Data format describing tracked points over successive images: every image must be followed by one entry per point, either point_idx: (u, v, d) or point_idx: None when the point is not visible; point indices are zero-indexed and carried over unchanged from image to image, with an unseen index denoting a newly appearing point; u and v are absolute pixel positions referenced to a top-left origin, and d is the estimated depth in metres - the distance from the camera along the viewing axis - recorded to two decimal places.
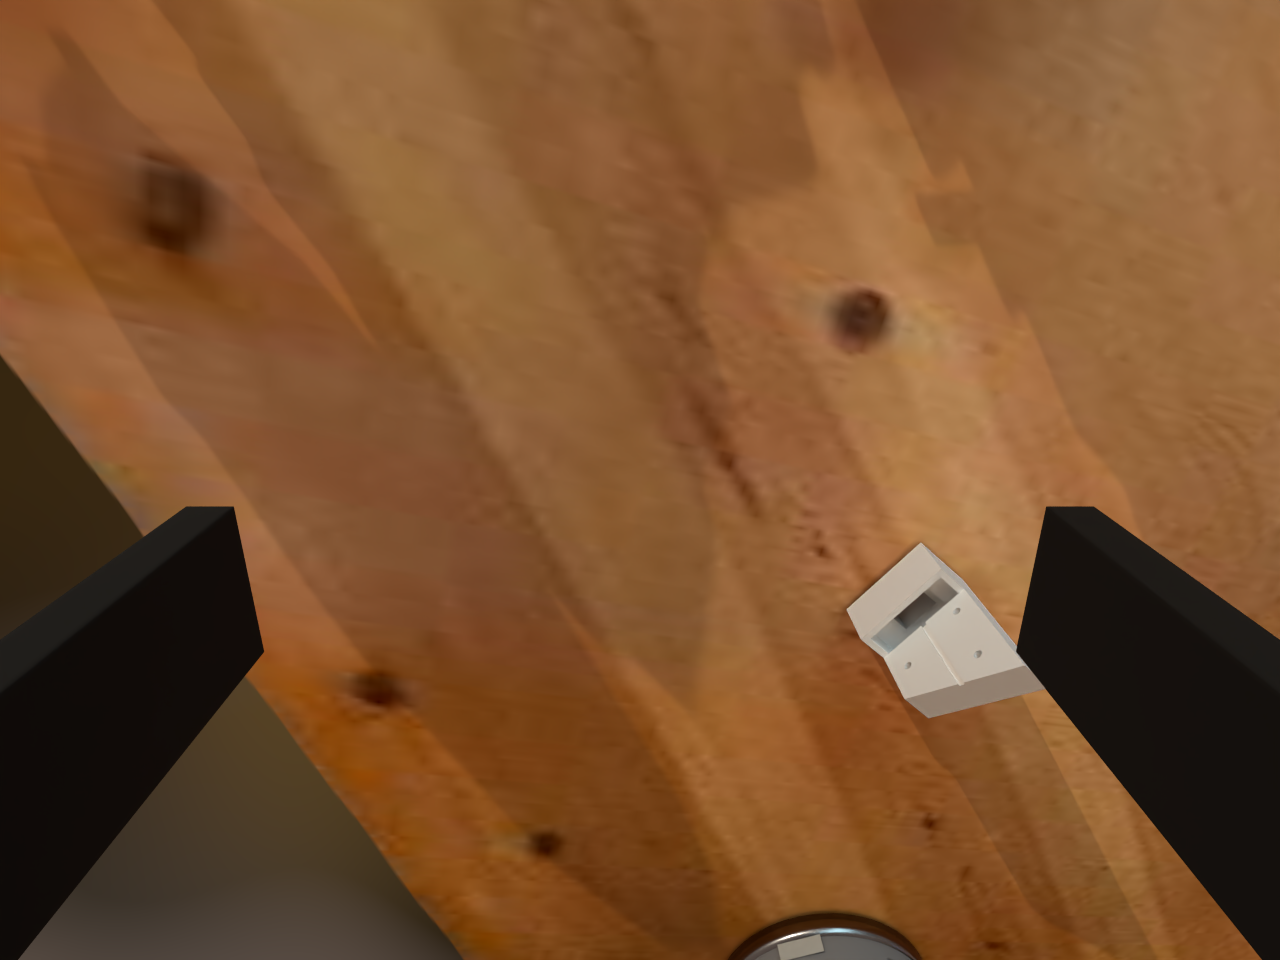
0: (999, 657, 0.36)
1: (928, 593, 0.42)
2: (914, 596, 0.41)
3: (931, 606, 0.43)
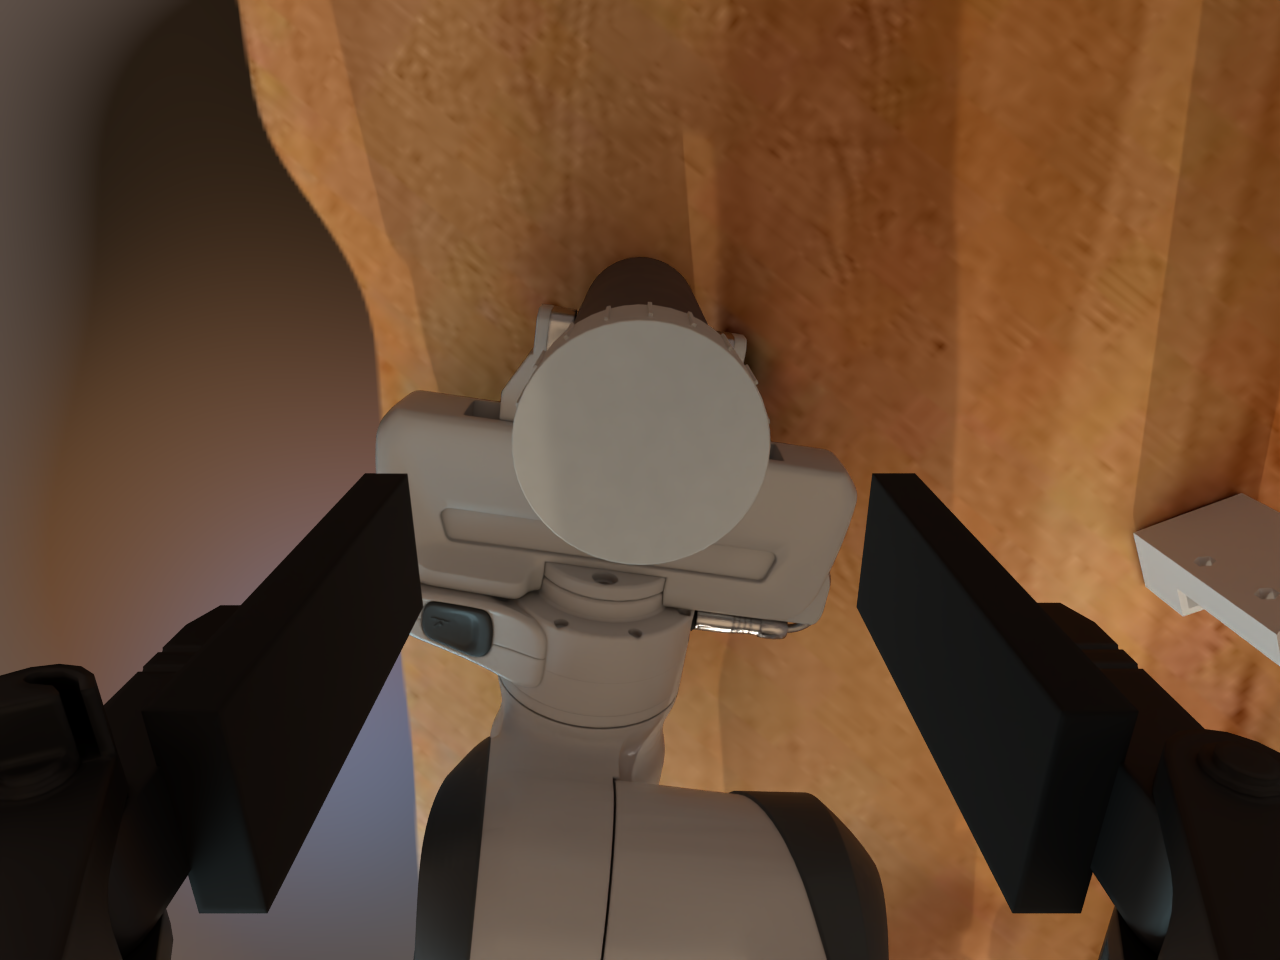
0: None
1: None
2: None
3: None
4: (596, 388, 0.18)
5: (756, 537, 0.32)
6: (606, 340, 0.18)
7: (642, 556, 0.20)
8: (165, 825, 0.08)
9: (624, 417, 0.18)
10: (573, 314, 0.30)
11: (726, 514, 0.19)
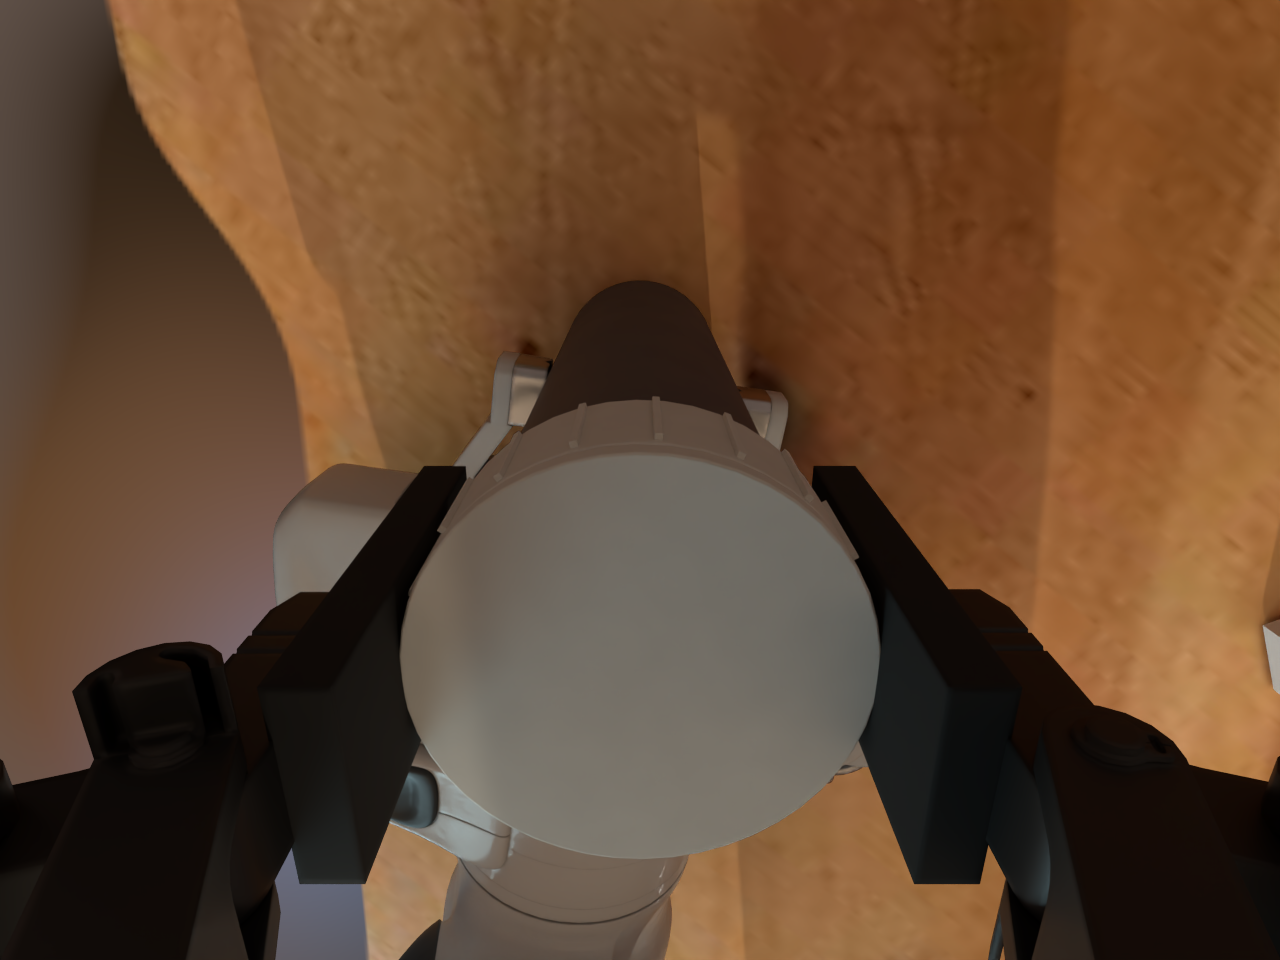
0: None
1: None
2: None
3: None
4: (555, 576, 0.10)
5: None
6: (573, 490, 0.09)
7: (642, 847, 0.11)
8: (276, 797, 0.08)
9: (609, 625, 0.10)
10: (546, 368, 0.22)
11: (794, 783, 0.11)
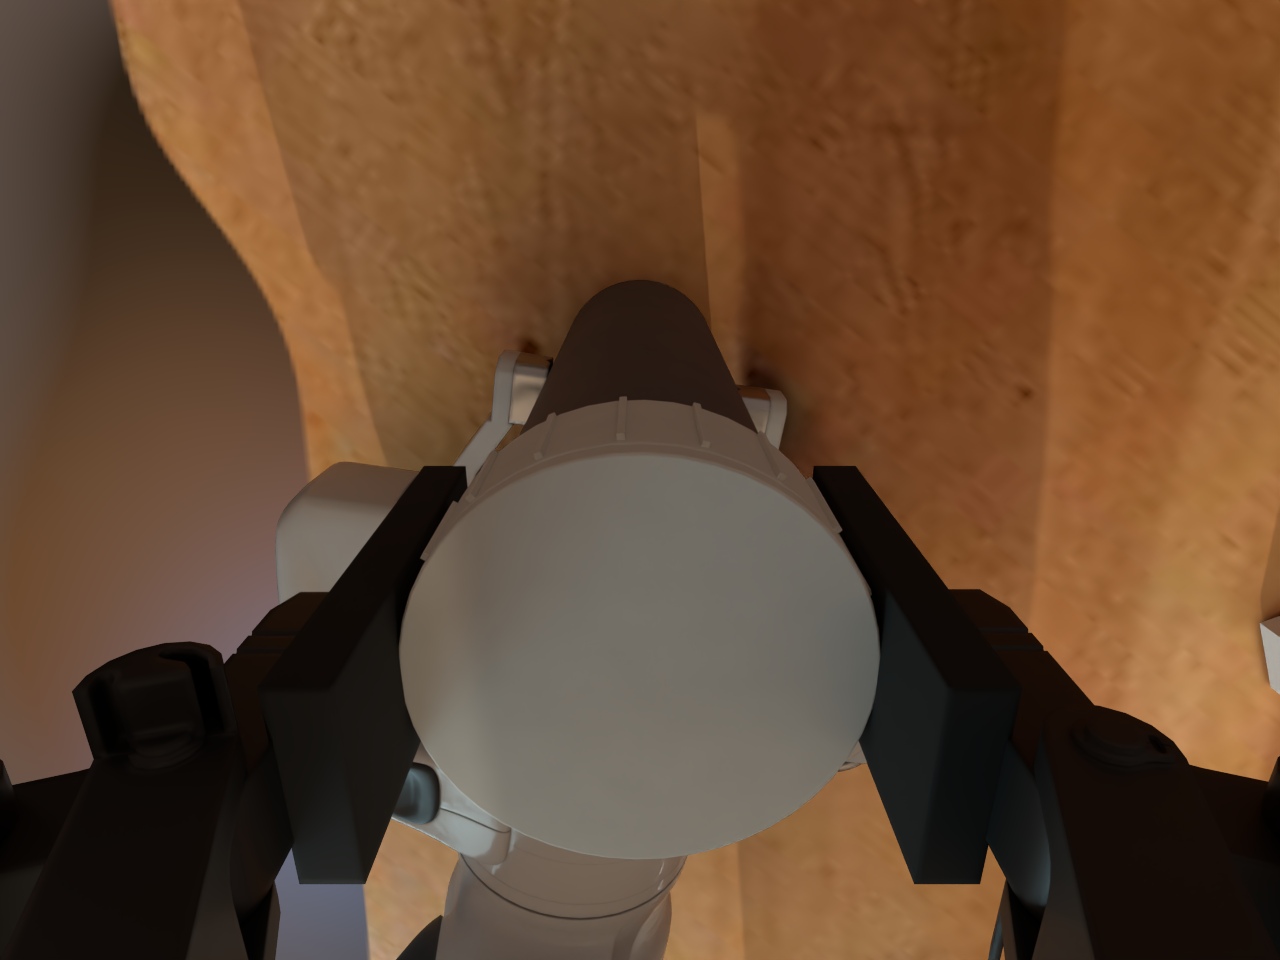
0: None
1: None
2: None
3: None
4: (500, 699, 0.10)
5: None
6: (426, 653, 0.10)
7: (833, 752, 0.11)
8: (275, 797, 0.08)
9: (569, 680, 0.10)
10: (546, 366, 0.22)
11: (836, 598, 0.10)
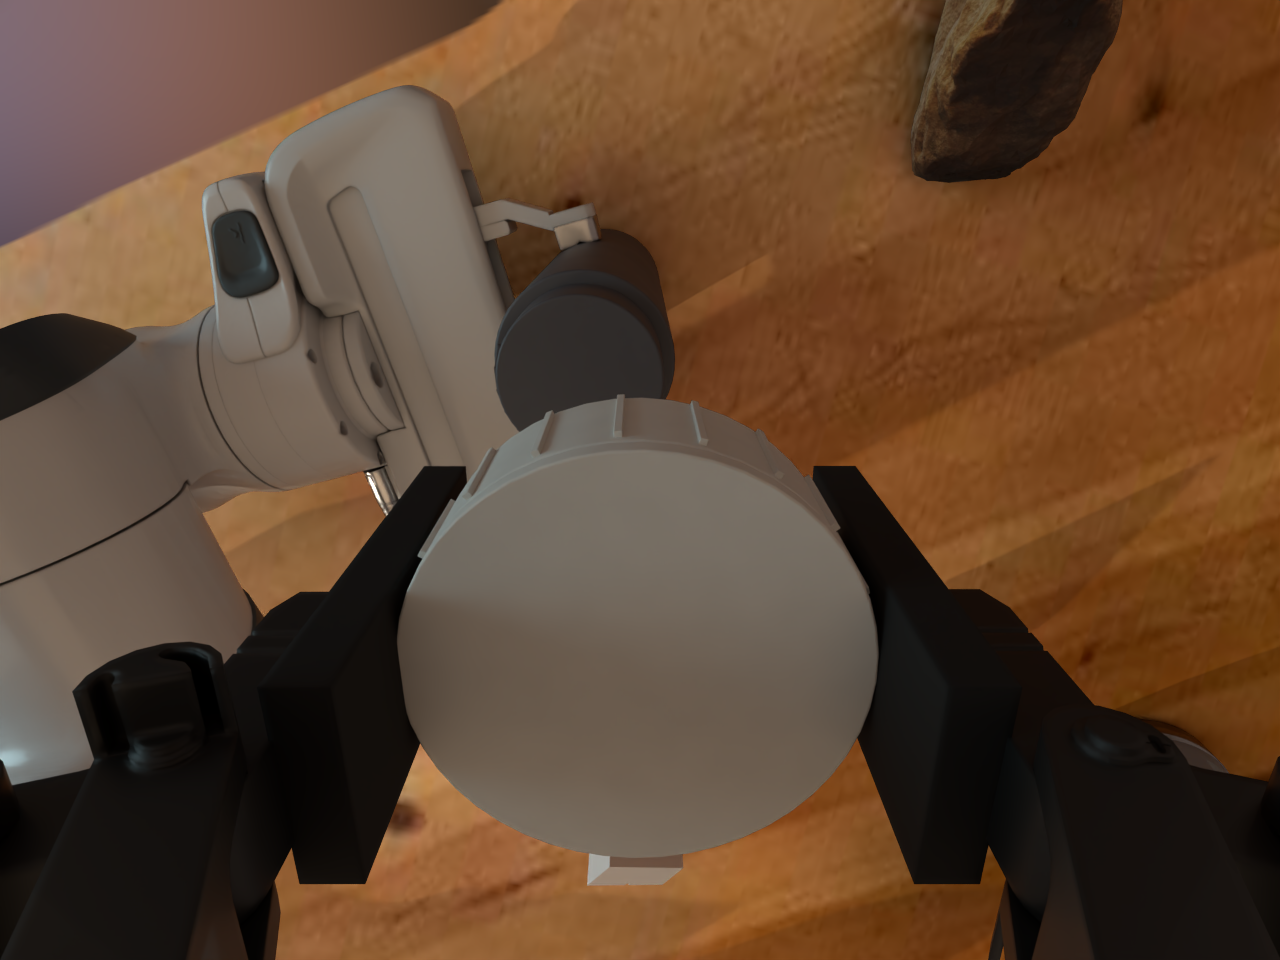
0: None
1: None
2: None
3: None
4: (498, 697, 0.10)
5: None
6: (423, 651, 0.10)
7: (831, 751, 0.11)
8: (276, 797, 0.08)
9: (567, 679, 0.10)
10: (599, 237, 0.32)
11: (834, 596, 0.10)
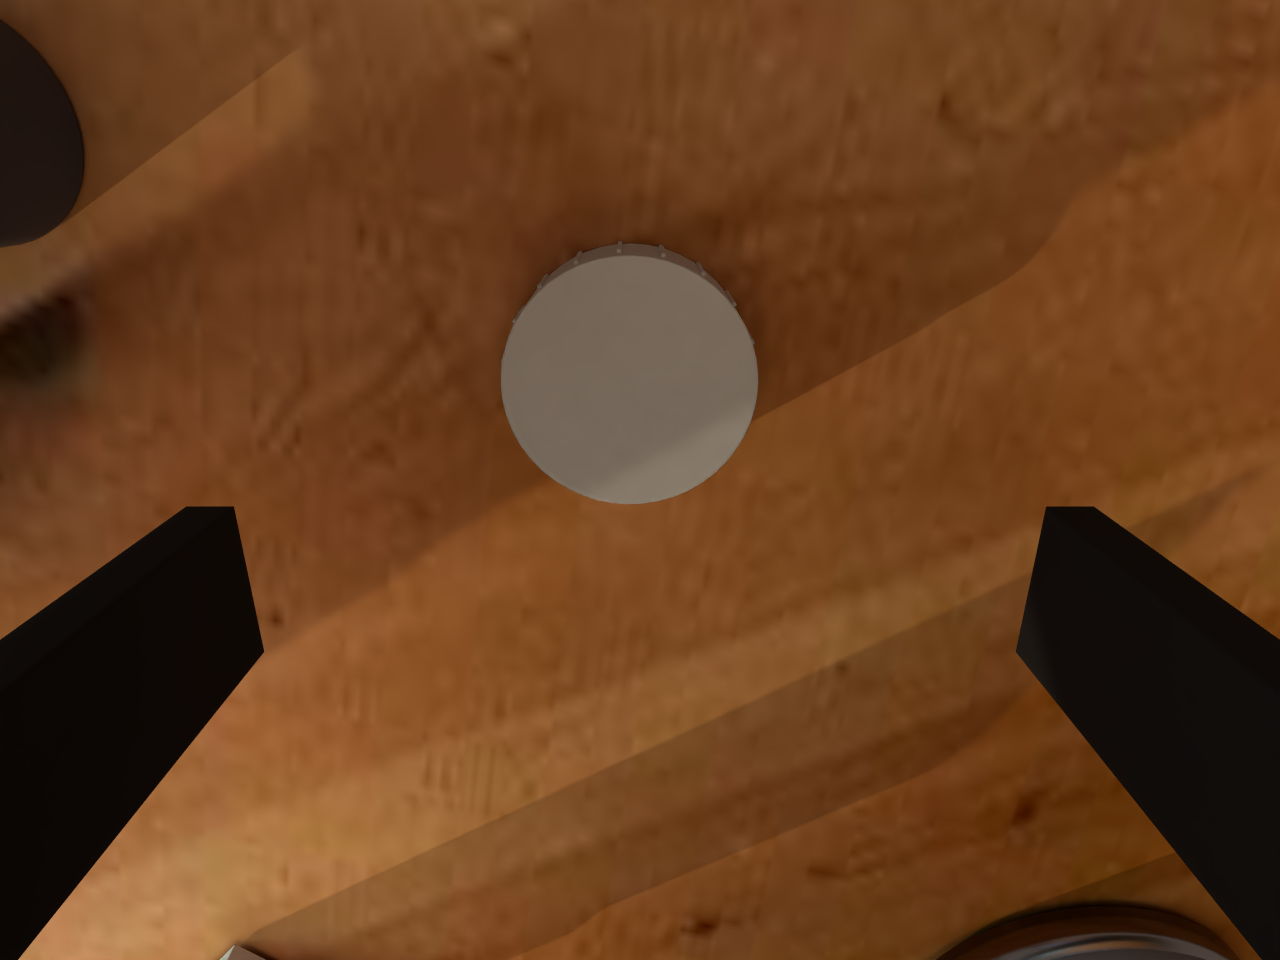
0: None
1: None
2: None
3: None
4: (555, 400, 0.19)
5: None
6: (515, 372, 0.19)
7: (735, 433, 0.19)
8: None
9: (592, 389, 0.19)
10: None
11: (732, 338, 0.18)
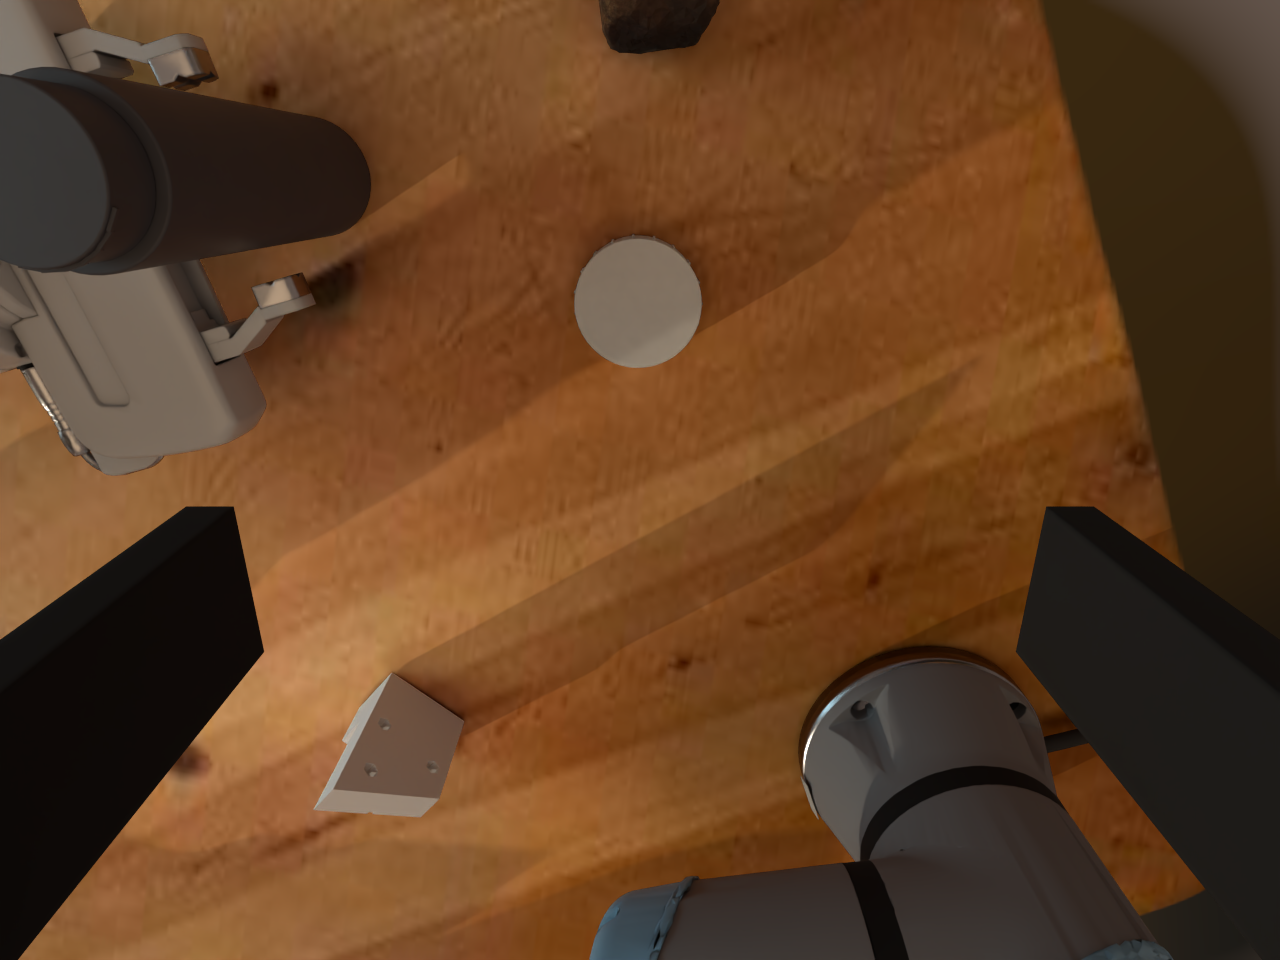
0: None
1: None
2: None
3: None
4: (601, 311, 0.38)
5: (132, 377, 0.33)
6: (582, 297, 0.38)
7: (691, 329, 0.39)
8: None
9: (619, 305, 0.38)
10: (202, 72, 0.30)
11: (688, 279, 0.38)
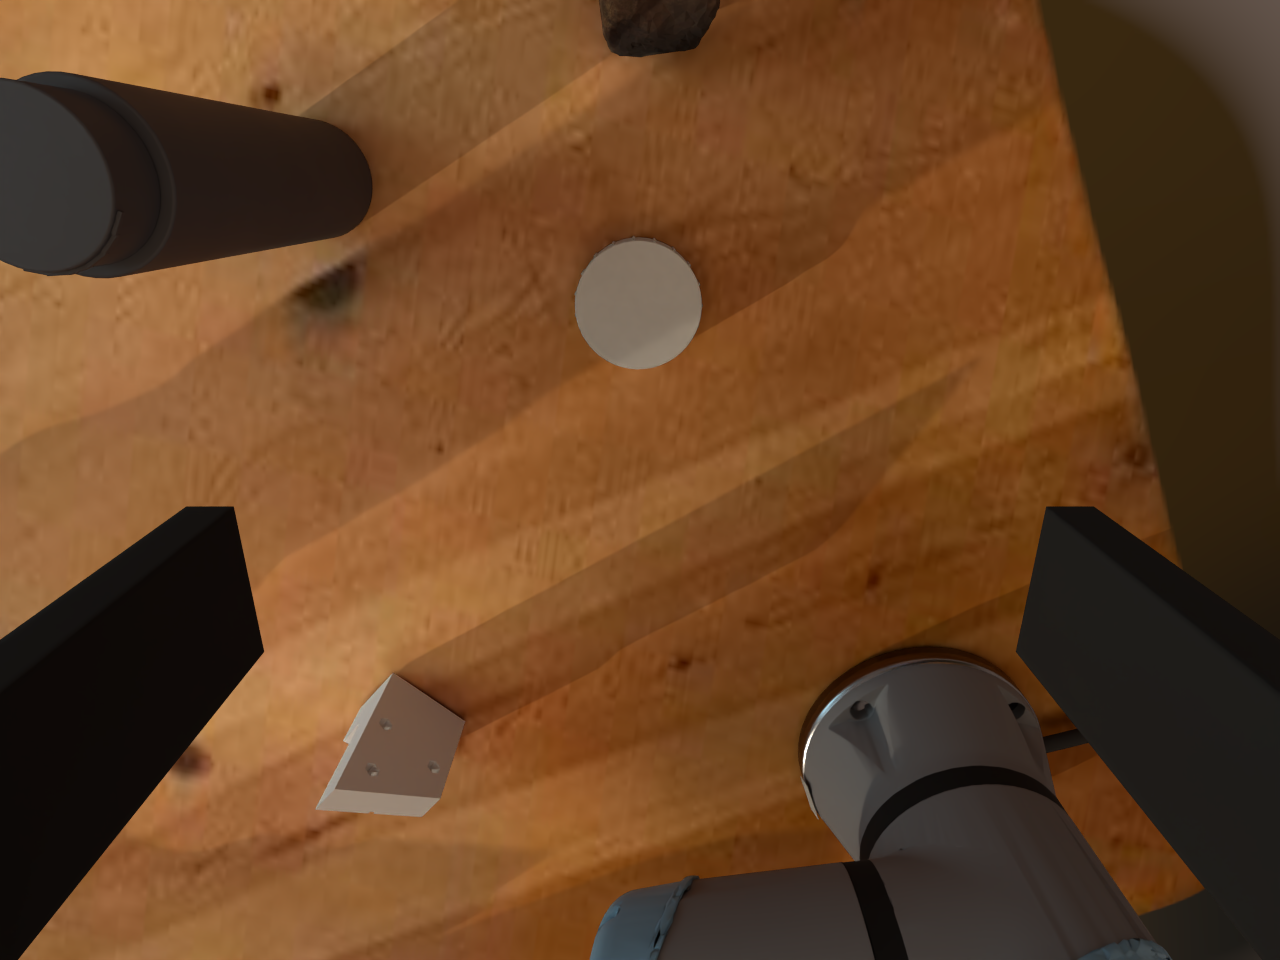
0: None
1: None
2: None
3: None
4: (601, 313, 0.38)
5: None
6: (582, 298, 0.38)
7: (691, 330, 0.39)
8: None
9: (620, 307, 0.38)
10: None
11: (688, 281, 0.38)
